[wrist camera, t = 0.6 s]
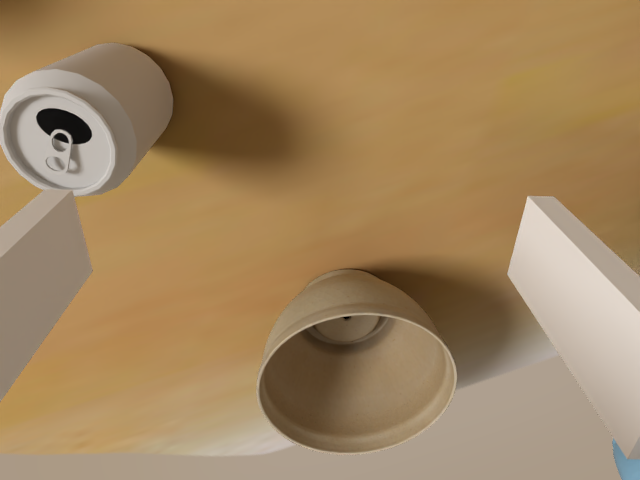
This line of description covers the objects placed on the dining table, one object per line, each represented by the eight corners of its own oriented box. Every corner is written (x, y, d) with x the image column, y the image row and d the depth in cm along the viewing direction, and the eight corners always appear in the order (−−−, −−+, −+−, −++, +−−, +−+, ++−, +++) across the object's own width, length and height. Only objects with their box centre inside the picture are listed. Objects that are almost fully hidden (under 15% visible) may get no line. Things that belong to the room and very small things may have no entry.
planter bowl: (295, 381, 52) (294, 472, 43) (239, 264, 44) (224, 346, 35) (439, 345, 51) (470, 433, 41) (408, 216, 43) (439, 289, 33)
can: (186, 64, 35) (140, 107, 25) (164, 154, 39) (115, 225, 28) (81, 23, 34) (-15, 52, 23) (68, 121, 37) (-22, 183, 27)
